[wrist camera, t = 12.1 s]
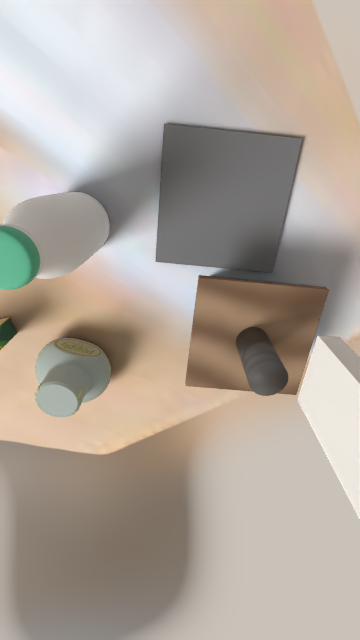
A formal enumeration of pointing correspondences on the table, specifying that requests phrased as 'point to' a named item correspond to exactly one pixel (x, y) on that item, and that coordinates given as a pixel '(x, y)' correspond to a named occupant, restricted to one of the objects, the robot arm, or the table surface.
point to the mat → (223, 197)
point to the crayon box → (6, 331)
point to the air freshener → (70, 375)
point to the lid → (252, 334)
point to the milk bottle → (50, 237)
